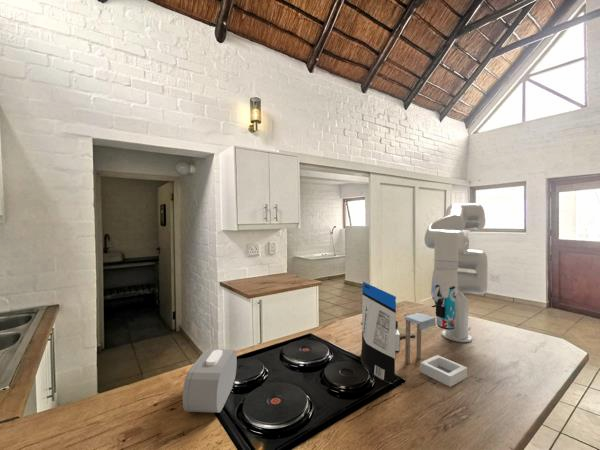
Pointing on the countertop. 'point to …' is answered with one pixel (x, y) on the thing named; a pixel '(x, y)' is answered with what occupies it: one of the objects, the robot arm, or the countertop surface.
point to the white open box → (436, 365)
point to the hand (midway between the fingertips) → (445, 315)
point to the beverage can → (448, 312)
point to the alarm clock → (210, 381)
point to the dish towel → (403, 333)
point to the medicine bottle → (397, 338)
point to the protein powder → (378, 333)
